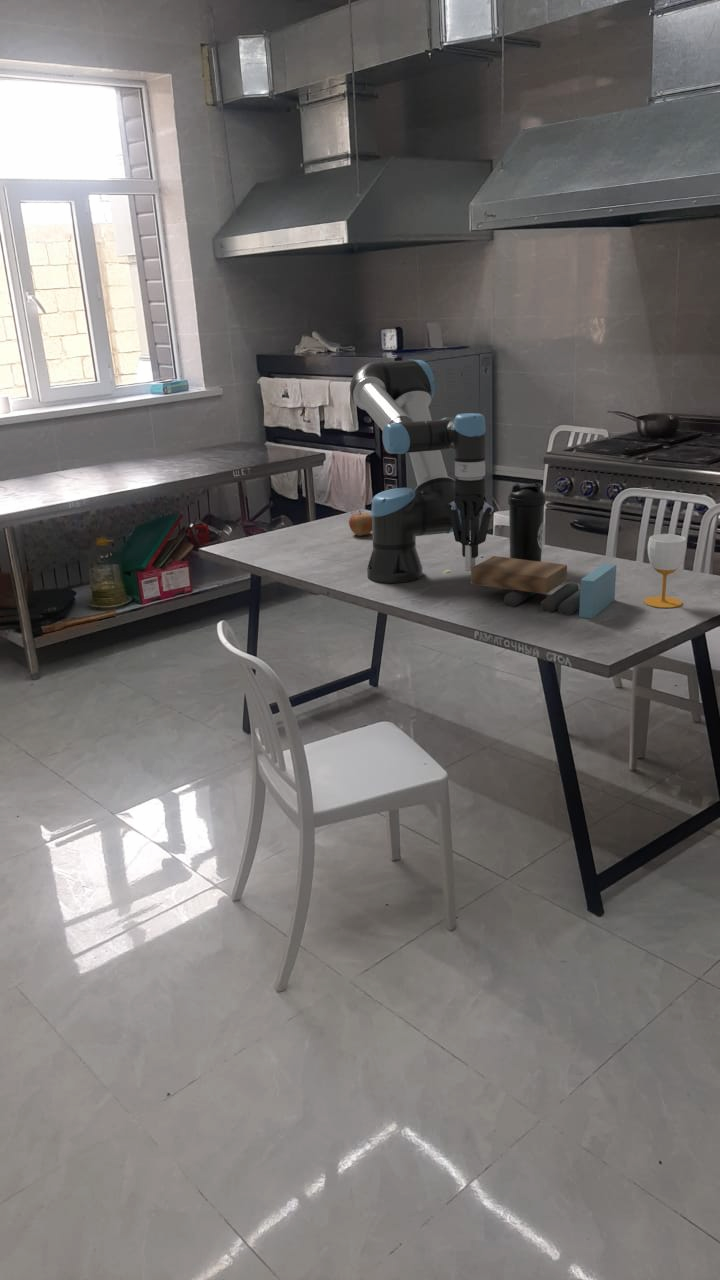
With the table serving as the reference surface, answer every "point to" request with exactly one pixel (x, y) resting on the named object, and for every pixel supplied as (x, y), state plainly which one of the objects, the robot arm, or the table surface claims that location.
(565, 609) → the cylinder
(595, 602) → the block
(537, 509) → the water bottle
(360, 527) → the apple
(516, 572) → the slab
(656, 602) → the cup
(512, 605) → the roller rear
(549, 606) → the roller mid
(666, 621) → the table surface
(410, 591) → the table surface
